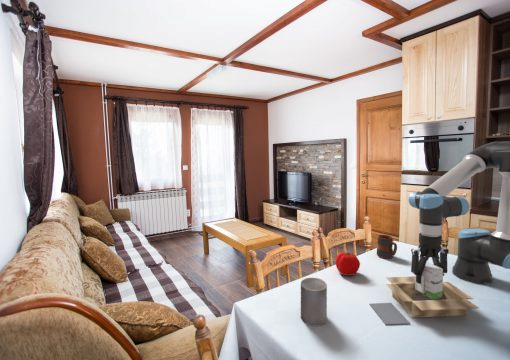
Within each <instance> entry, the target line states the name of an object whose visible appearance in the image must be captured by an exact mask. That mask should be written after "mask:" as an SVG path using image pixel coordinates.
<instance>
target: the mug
mask: <svg viewBox="0 0 510 360" xmlns="http://www.w3.org/2000/svg"><path fill="white" fill-rule="evenodd" d="M393 240H394V238H393V237H392V235H391V236H390V235H389V234H388V235H387V234H380V235H377V247H376V256H377V257H378V256H379V257H378V258H381V259H384V258H385V260H389V259H392V258H393V257H394V256H395V255H396V254H397V249H398V245H397V243H396V242H394V241H393Z"/></svg>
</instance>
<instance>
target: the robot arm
mask: <svg viewBox="0 0 510 360" xmlns="http://www.w3.org/2000/svg"><path fill="white" fill-rule="evenodd" d="M493 168H497V169H498V173H499V174H500V175H501V176H502V180H501V187H500V188H501V190H500V194H499V195H500V196H499V203H498V212H497V220H496V221H497V222H496V228H495V230H494V231H493V232H491V231H489V230H487V229H484V228H483V229H482V228H463V229H461V230H459V233H458V237H457V238H458V241H457V242H458V243H457V245H458V246H457V259H456V260H455V262H454V265H453V266H452V270H451V272H452V274H453V275H454V276H455V277H456V278H458V279H461V280H464V281H467V282H471V283H474V284H475V283H476V284H490V283H492V282H493V274H492V270H491V268H490V265H489V263H491V264H493V265H497V266H498V267H502V268H504V269H506V270H507V269H508V270H510V140H509V141H508V140H507V141H492V142H489V143H485V144H483V145H481V146H479V147H477V148H475V149H473V150H471V151H470V152H469V153H467V154H466V155H464V157H462V161H461V162H459V163H458V164H457V165H455V166H453V168H451V169H450V170H448V171H447V172H446V173H445V174H443V175H442V176H440V177H439V178H438V179H436V180H435V181H434V182H433V183H431V184H429V186H427V187H426V188H425V189H423V190H422V191H412V192H411V194H409V197H408V204H409V205H410V206H411V207H412V208H414V209H418V210H419V213H418V214H419V215H418V216H419V222H418V232H419V233H418V244H419V245H418V247H417V248H411V249H410V251H411V254H412V255H411V266H410V272H411V274H413V275H414V276H416V282H417V283H418V287H417V289H418V290H419V291H421V292H424V276H423V275H422V274H423V271H424V268H425V265H426V262H428V261H429V258H431V259H432V264H433V265H435V266H437V267H440V268H442V269H443V277H444V276H445V274H447V273H448V255H449V254H448V253H449V249H448V248H446V247H444V246H442V241H443V239H442V238H443V237H442V235H443V219H444V218H445V219H446V218H452V217H453V218H454V217H460V216H464V215H466V214H468V213H469V211H470V207H471V206H470V202H469V201H468V200H467V199H466V198H465V197H463V196H449V195H450V194H451V193H452V192H454V191H455V190H456V189H457V188H459V187H460V186H461V185H463V184H464V183H465V182H467V181H468V180H469V179H471V178H472V177H473V176H474V175H476V174H477V173H482V172H483V171H485V170H486V169H493Z"/></svg>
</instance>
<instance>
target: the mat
mask: <svg viewBox="0 0 510 360" xmlns="http://www.w3.org/2000/svg"><path fill="white" fill-rule="evenodd" d="M368 305H369V306H370V307H371V309H372V311H374V313H375V314H376V315H377V317H379V318H380V320H381V322H382V323H383V324H384V325H385V326H391V325H392V326H395V325H396V326H397V325H399V326H400V325H411V322H410V321H409V320H408V319H407V318H406V316H404V315H403V313H401V312H400V310H398V309H397V307H396V306H395V305H394V304H393V303H392V302H380V303H379V302H377V303H374V302H373V303H369V304H368Z"/></svg>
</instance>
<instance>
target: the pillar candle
mask: <svg viewBox="0 0 510 360" xmlns="http://www.w3.org/2000/svg"><path fill="white" fill-rule="evenodd" d="M327 288H328V284H327V283H326V281H325V280H323V279H321V278H317V277H306V278H304V279H302V280H301V282H300V318H301V320H302V322H304V323H305V324H307V325H309V326H315V327H316V326H322V325H323V324H325V323H326V322H327V319H328V318H327V315H328V314H327V313H328V311H327V309H328V308H327V307H328V304H327V303H328V302H327V301H328V296H327V295H328V289H327Z"/></svg>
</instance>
